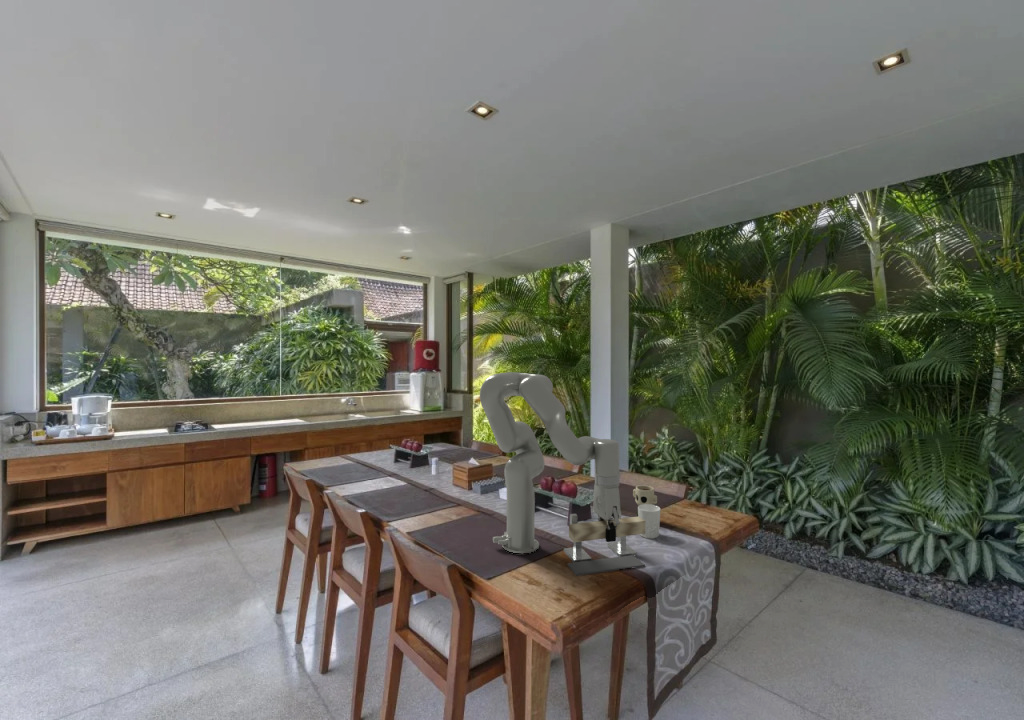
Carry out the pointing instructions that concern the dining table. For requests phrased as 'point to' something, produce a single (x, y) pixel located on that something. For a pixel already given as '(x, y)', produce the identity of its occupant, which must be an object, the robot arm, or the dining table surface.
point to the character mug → (644, 495)
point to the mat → (604, 565)
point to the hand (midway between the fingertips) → (607, 537)
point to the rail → (598, 529)
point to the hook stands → (618, 547)
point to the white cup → (650, 519)
